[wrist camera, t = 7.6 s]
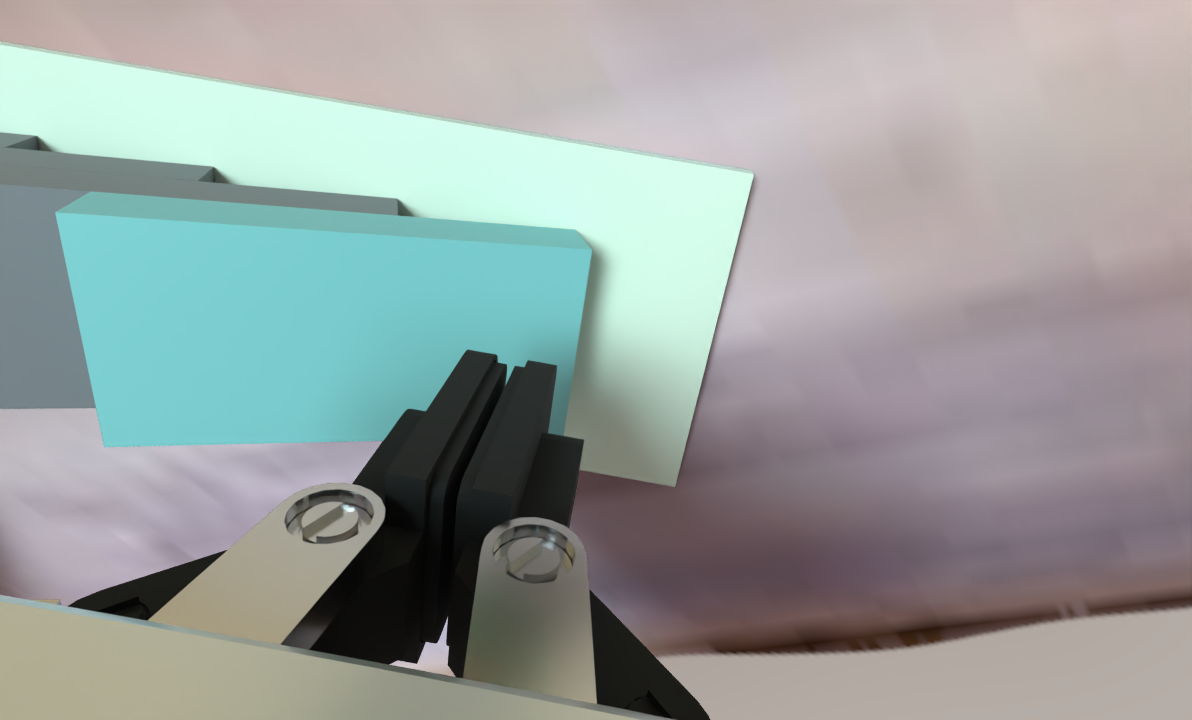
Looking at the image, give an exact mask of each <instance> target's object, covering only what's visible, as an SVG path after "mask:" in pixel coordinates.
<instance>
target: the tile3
mask: <svg viewBox="0 0 1192 720" xmlns="http://www.w3.org/2000/svg"><path fill="white" fill-rule="evenodd" d="M0 164H5V165H16V166H28V167H39V168H51V169H62V170H74V171H85V172H97V173H108V174H120V175H131V176H143V177H154V178H166V179H178V180H189V181H201V182H212V183H215V175H214V167H212V166H201V165H190V164H179V163H169V162H158V161H147V160H136V159H125V158H114V157H103V156H92V155H81V154H71V153H60V152H49V151H38V150H27V149H16V148H5V147H0Z"/></svg>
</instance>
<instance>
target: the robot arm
mask: <svg viewBox="0 0 1192 720" xmlns="http://www.w3.org/2000/svg"><path fill="white" fill-rule="evenodd" d="M556 374H557V365H553V364H547V363H542V362H536V361H530V360H528V361H527V363H526V365H525V367H520V366H515V367H514V369H513V371H512V373H511V375H510V377H509V379H508V382H507V384H506V377H507V364H503V363H498V356H497V355H496V354H491V353H485V352H479V351H474V350H468V349H467V350H466V351H465V353H464V354H463V356H462V357H461V359H460V360H459V362H458V363H457V365H456V366H455V368H454V369H453V371H452V372H451V374H450V375H449V377H448V378H447V380H446V382H445V383H444V385H443V386H442V388H441V389H440V391H439V392H438V394H437V395H436V397H435V398H434V400H433V401H432V403H431V404H430V406H429V407H428V409H427V410H426V411H421V410H416V409H407V410H406V411H405V412H404V413H403V414H402V416H401V417H400V418H399V420H398V421H397V423H396V424H395V425H394V427H393V428H392V429H391V431H390V432H389V434H388V435H387V436H386V438H385V439H384V441H383V442H382V443H381V445H380V446H379V448H378V449H377V450H376V452H375V453H374V454H373V456H372V457H371V459H370V460H369V461H368V463H367V464H366V466H365V467H364V468H363V470H362V471H361V472H360V474H359V475H358V477H357V478H356V479H355V481H354V482H353V484H348V483H326V484H321V485H316V486H311V487H309V488H306V489H304V490H301V491H299V492H296V493H295V494H293V495H292V496H290V497H289V498H287V499H286V500H284V501H283V502H282V503H281V504H279V505H278V506H277V507H276V508H275V509H274V510H273V511H271V512H270V513H269V514H268V515H267V516H266V517H265V518H264V519H262V520H261V521H260V522H259V523H258V524H257V525H256V526H254V527H253V528H252V529H251V530H250V531H249V532H248V533H246V534H245V535H244V536H243V537H242V538H241V539H240V540H238V541H237V542H236V543H235V544H234V545H233V546H232V547H231V548H229V549H228V550H226V551H222V552H219V553H216V554H213V555H210V556H207V557H204V558H201V559H198V560H194V561H191V562H188V563H185V564H182V565H179V566H176V567H173V568H170V569H166V570H163V571H160V572H157V573H154V574H151V575H148V576H145V577H141V578H138V579H135V580H132V581H129V582H126V583H123V584H120V585H117V586H113V587H110V588H107V589H104V590H101V591H98V592H96V593H94V594H91V595H89V596H86V597H84V598H81V599H79V600H77V601H75V602H74V603H72V604H71V605H69V606H62V604H61V601H60V600H27V599H22V598H16V597H10V596H4V595H0V720H710V718H709V716H708V715H707V713H706V712H705V711H704V709H703V708H702V706H701V705H700V704H699V702H698V701H697V700H696V699H695V698H694V697H693V696H692V695H691V694H690V693H689V692H688V691H687V690H686V689H685V688H684V686H683V685H681V683H680V682H679V681H678V680H677V679H676V678H675V677H674V676H673V675H672V674H671V673H670V672H669V671H668V670H667V669H666V668H665V667H664V666H663V665H662V664H661V663H660V662H659V661H658V660H657V659H656V658H655V656H654V655H653V654H652V653H651V652H650V651H649V650H648V649H647V648H646V647H645V646H644V645H643V644H642V643H641V642H640V641H639V640H638V639H637V638H636V637H635V636H634V635H633V634H632V633H631V632H630V631H629V630H628V629H627V628H626V627H625V625H624V624H623V623H622V622H621V621H620V620H619V619H618V618H617V617H616V616H615V615H614V614H613V613H612V612H611V611H610V610H609V609H608V608H607V607H606V606H605V605H604V604H603V603H602V602H601V601H600V600H599V599H598V598H597V597H596V596H595V594H594V593H593V592H592V591H591V590H590V589H589V579H588V565H587V555H586V551H585V547H584V544H583V543H582V542H581V540H580V539H579V538H578V536H577V535H576V534H575V533H574V532H572V531H571V530H570V529H569V525H570V520H571V514H572V509H573V503H574V498H575V492H576V487H577V481H578V475H579V469H580V463H581V458H582V452H583V446H584V439H578V438H573V437H567V436H562V435H556V434H550V433H548V430H549V423H550V416H551V409H552V402H553V395H554V388H555V381H556ZM447 617H448V626H447V640H446V644H447V646H449V656H448V666H449V667H450V669H451V670H452V672H453V673H454V675H455V676H456V677H452V676H447V675H442V674H436V673H431V672H426V671H420V670H415V669H409V668H404V667H399V666H393V665H389V664H391V663H393V662H395V661H397V660H399V661H405V662H410V663H416V664H417V663H418V660H419V658H420V655H421V653H422V650H423V648H424V645H425V643H426V642H430V643H437V642H438V640H439V638H440V636H441V633H442V631H443V628H444V625H445V623H446V620H447Z"/></svg>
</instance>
